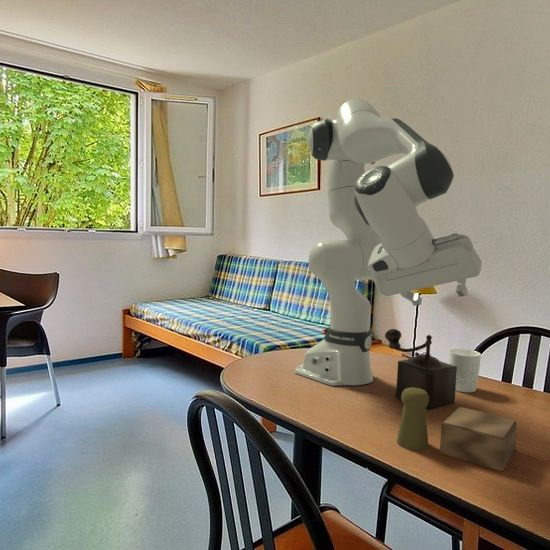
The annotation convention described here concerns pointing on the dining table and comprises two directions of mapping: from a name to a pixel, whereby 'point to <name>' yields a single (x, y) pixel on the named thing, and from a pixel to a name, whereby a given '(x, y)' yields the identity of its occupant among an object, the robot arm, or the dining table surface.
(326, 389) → the dining table surface
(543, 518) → the dining table surface
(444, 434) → the walnut block
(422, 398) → the olive knobbed peg
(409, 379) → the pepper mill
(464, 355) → the white cup
